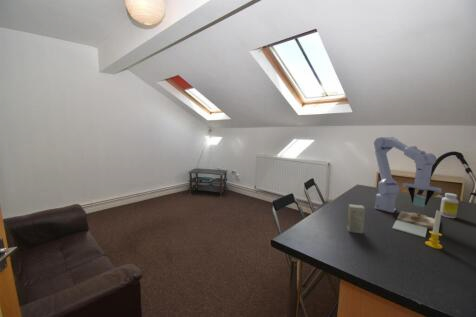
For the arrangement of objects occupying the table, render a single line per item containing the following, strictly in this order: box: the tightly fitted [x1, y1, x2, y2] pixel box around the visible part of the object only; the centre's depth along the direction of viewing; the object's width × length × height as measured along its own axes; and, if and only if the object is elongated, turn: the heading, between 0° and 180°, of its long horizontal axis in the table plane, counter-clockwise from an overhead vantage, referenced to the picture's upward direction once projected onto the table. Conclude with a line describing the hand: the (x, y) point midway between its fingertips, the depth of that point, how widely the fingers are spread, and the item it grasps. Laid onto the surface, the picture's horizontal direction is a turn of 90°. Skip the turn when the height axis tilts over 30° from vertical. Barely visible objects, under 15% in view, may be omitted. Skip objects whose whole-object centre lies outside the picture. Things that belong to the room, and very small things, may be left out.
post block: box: [396, 210, 435, 230], centre depth 108 cm, size 16×14×5 cm
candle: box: [424, 210, 443, 250], centre depth 84 cm, size 5×5×16 cm
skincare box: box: [346, 203, 366, 234], centre depth 96 cm, size 6×4×12 cm
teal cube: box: [412, 194, 426, 208], centre depth 105 cm, size 4×4×4 cm
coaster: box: [391, 219, 428, 239], centre depth 100 cm, size 12×12×1 cm
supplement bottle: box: [439, 192, 459, 219], centre depth 115 cm, size 7×7×13 cm
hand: (419, 203), depth 105 cm, fingers closed on teal cube, 4 cm apart
